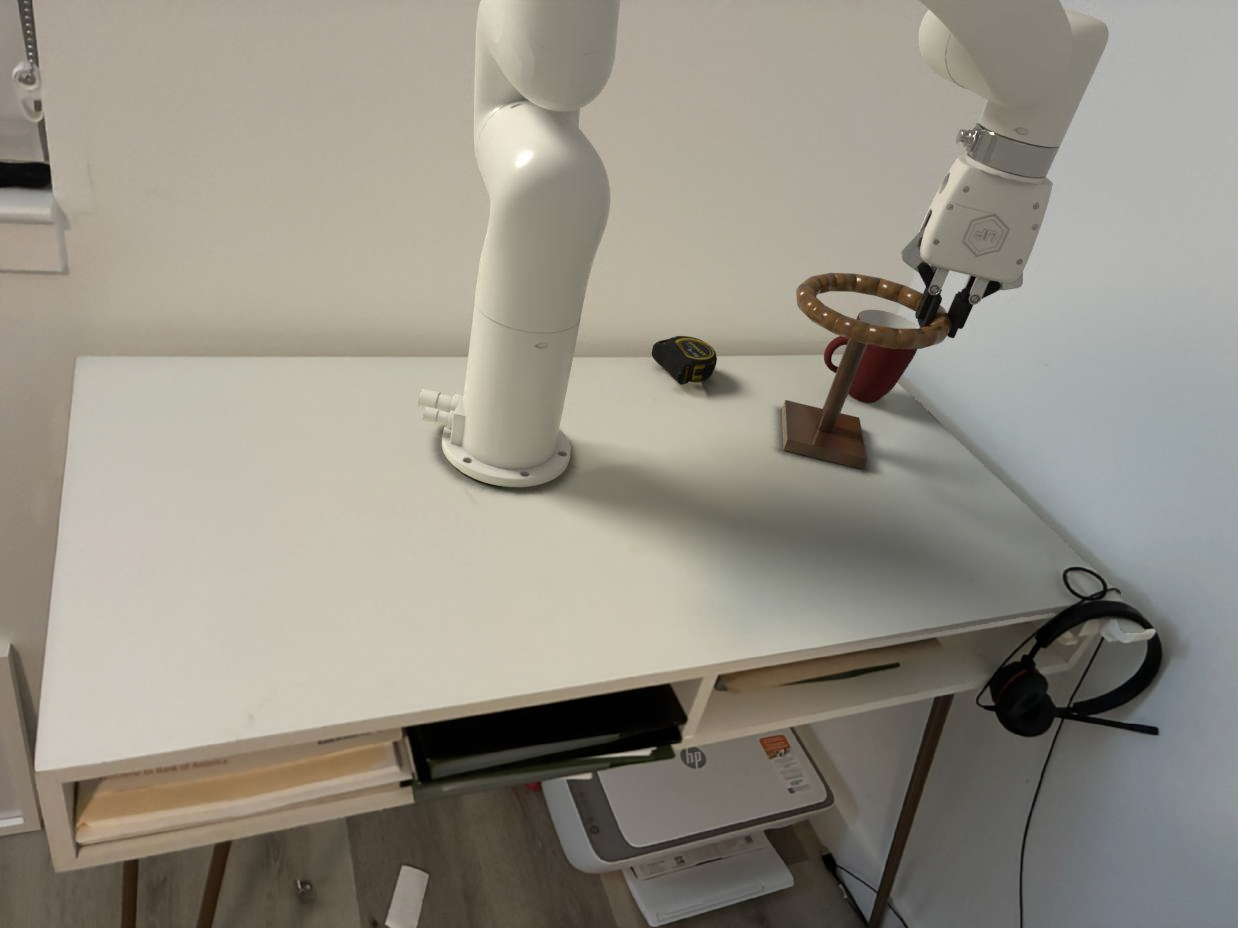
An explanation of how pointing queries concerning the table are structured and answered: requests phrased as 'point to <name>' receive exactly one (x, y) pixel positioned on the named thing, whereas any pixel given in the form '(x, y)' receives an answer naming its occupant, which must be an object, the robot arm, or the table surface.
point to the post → (828, 419)
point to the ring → (863, 330)
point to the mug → (875, 359)
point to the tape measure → (685, 358)
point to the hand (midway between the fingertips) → (935, 328)
